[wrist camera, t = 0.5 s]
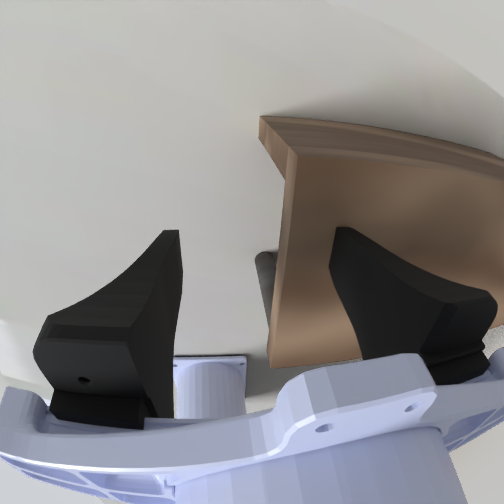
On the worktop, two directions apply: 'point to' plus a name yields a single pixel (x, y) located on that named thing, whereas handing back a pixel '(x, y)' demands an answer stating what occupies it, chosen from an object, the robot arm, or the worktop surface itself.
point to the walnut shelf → (372, 223)
